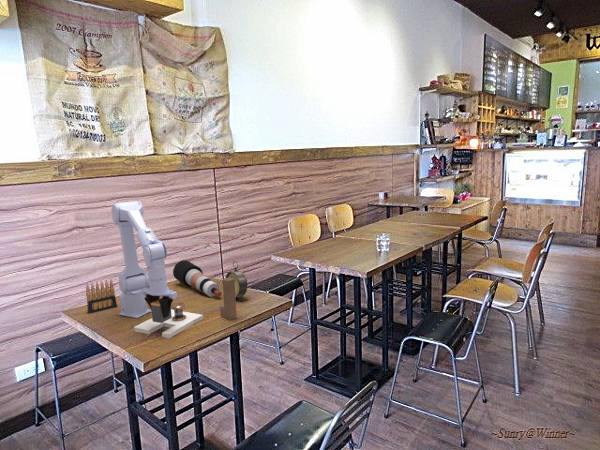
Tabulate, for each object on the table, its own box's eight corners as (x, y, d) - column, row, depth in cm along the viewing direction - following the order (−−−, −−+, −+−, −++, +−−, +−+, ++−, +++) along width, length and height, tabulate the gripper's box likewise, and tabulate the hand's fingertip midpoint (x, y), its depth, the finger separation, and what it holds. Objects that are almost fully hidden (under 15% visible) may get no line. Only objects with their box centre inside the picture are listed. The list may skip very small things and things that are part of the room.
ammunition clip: (115, 305, 178) (112, 277, 176) (117, 307, 177) (113, 278, 175) (87, 312, 172) (83, 283, 170) (88, 314, 170) (85, 284, 168)
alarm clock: (225, 297, 183) (222, 260, 180) (236, 294, 187) (233, 257, 184) (240, 303, 175) (237, 264, 172) (250, 299, 179) (248, 261, 176)
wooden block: (237, 317, 160) (234, 278, 158) (229, 320, 158) (226, 280, 156) (228, 313, 165) (225, 275, 163) (220, 315, 163) (217, 277, 160)
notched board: (134, 331, 152) (133, 327, 152) (170, 312, 168) (169, 309, 168) (168, 338, 145) (168, 334, 145) (203, 318, 161) (202, 314, 161)
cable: (215, 310, 181) (204, 293, 176) (179, 284, 206) (169, 269, 201) (233, 295, 185) (224, 277, 180) (196, 271, 210) (186, 255, 205)
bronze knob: (169, 320, 157) (167, 307, 156) (178, 315, 161) (177, 302, 160) (179, 322, 155) (178, 308, 154) (189, 316, 159) (187, 304, 158)
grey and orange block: (152, 321, 149) (150, 303, 148) (163, 316, 153) (161, 298, 152) (161, 323, 147) (159, 304, 146) (171, 317, 151) (170, 299, 150)
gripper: (181, 276, 148) (185, 314, 150) (150, 272, 154) (154, 309, 156) (167, 282, 141) (171, 322, 144) (134, 278, 148) (139, 316, 150)
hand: (161, 315), depth 150 cm, fingers closed on grey and orange block, 4 cm apart
